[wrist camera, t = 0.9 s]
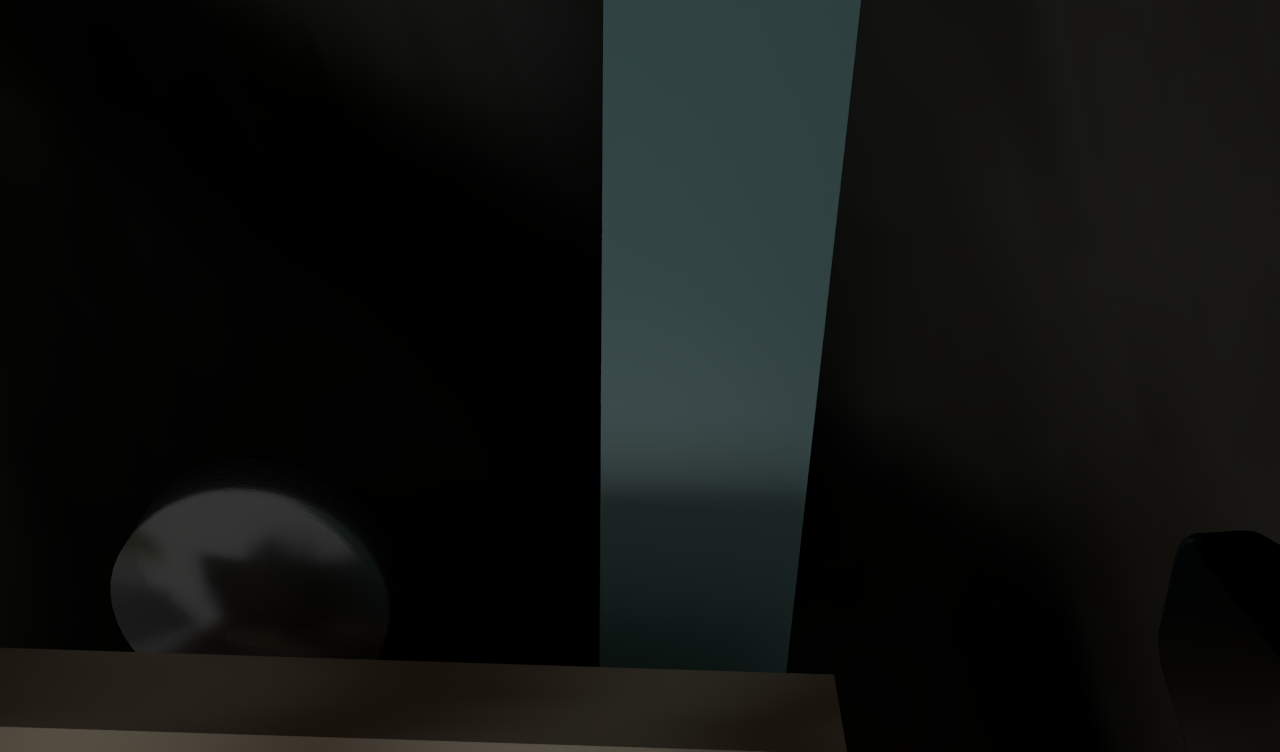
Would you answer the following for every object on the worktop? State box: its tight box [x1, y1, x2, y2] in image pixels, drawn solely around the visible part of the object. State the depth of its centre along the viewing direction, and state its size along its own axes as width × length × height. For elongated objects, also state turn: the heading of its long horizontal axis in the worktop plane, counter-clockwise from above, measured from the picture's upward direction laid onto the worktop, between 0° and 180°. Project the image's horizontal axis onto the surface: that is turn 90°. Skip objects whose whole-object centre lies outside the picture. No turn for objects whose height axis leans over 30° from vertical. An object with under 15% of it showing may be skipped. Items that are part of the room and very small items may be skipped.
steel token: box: [111, 459, 400, 660], centre depth 23 cm, size 5×5×2 cm
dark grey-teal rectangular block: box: [600, 0, 861, 673], centre depth 19 cm, size 3×17×4 cm, turn 179°
